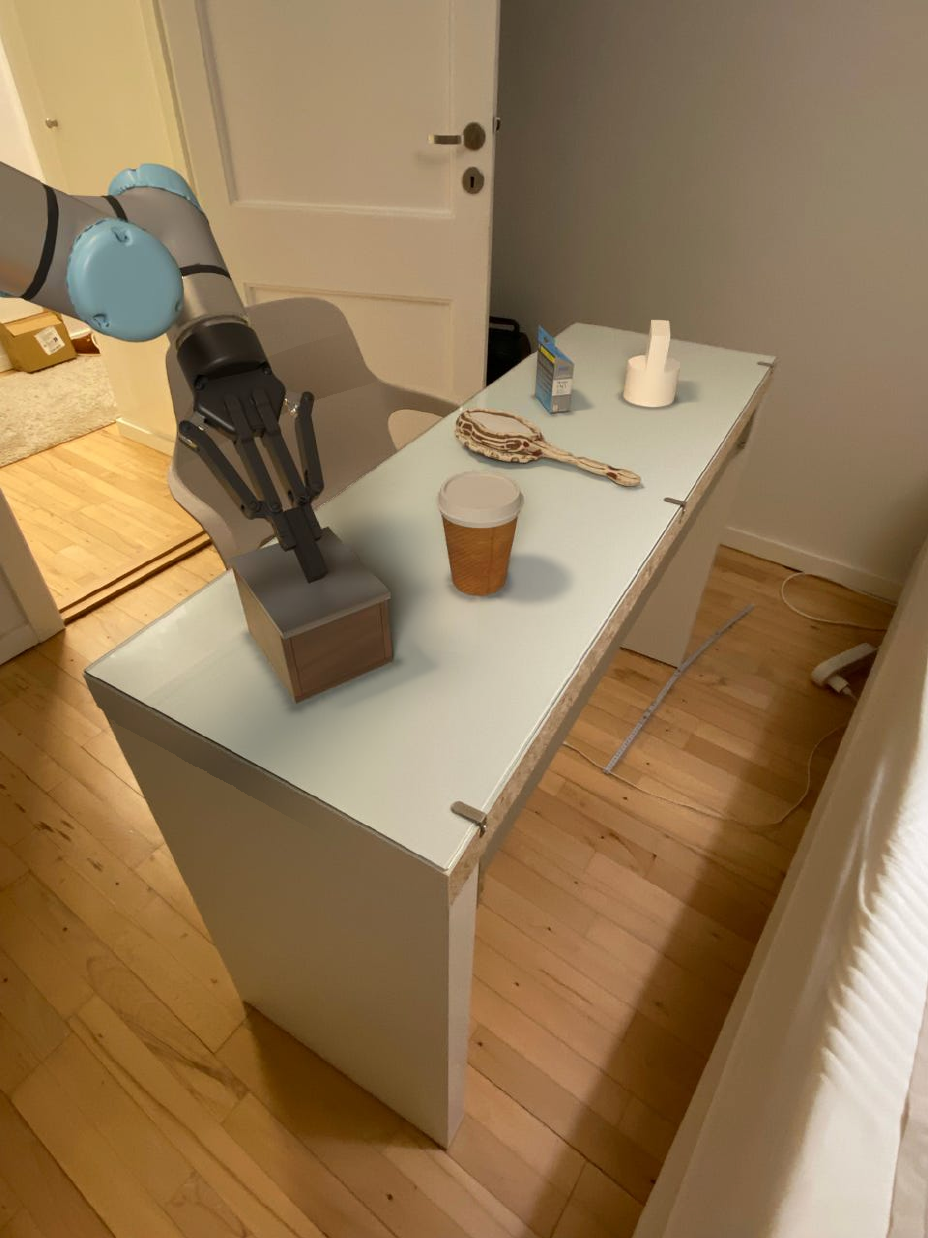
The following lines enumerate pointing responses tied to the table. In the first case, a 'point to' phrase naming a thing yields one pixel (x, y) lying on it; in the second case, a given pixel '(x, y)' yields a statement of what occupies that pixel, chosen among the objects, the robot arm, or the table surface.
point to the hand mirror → (522, 442)
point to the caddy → (321, 647)
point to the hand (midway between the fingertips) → (318, 577)
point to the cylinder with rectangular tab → (653, 371)
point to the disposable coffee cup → (479, 528)
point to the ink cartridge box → (553, 375)
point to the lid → (308, 585)
